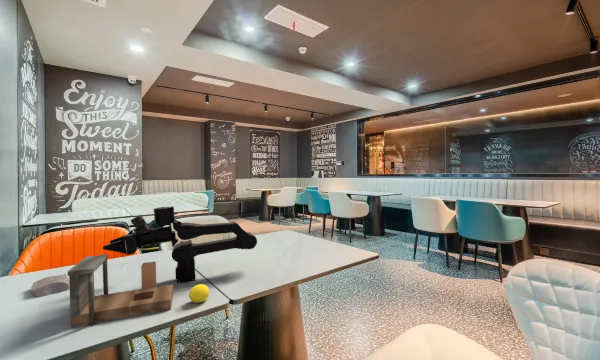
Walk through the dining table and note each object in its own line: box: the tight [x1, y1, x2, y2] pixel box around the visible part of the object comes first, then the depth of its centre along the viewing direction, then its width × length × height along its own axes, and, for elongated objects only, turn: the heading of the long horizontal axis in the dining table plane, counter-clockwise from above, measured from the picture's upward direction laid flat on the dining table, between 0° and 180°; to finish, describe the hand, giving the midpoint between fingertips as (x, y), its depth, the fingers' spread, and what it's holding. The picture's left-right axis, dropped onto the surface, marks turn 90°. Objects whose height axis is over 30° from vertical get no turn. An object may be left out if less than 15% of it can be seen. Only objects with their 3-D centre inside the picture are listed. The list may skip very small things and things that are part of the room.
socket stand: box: [66, 254, 174, 328], centre depth 82 cm, size 24×14×15 cm, turn 112°
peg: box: [140, 261, 157, 289], centre depth 96 cm, size 4×4×9 cm
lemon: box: [188, 283, 210, 304], centre depth 86 cm, size 7×5×5 cm
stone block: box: [30, 273, 70, 298], centre depth 97 cm, size 12×5×10 cm
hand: (106, 244), depth 95 cm, fingers open, 9 cm apart
